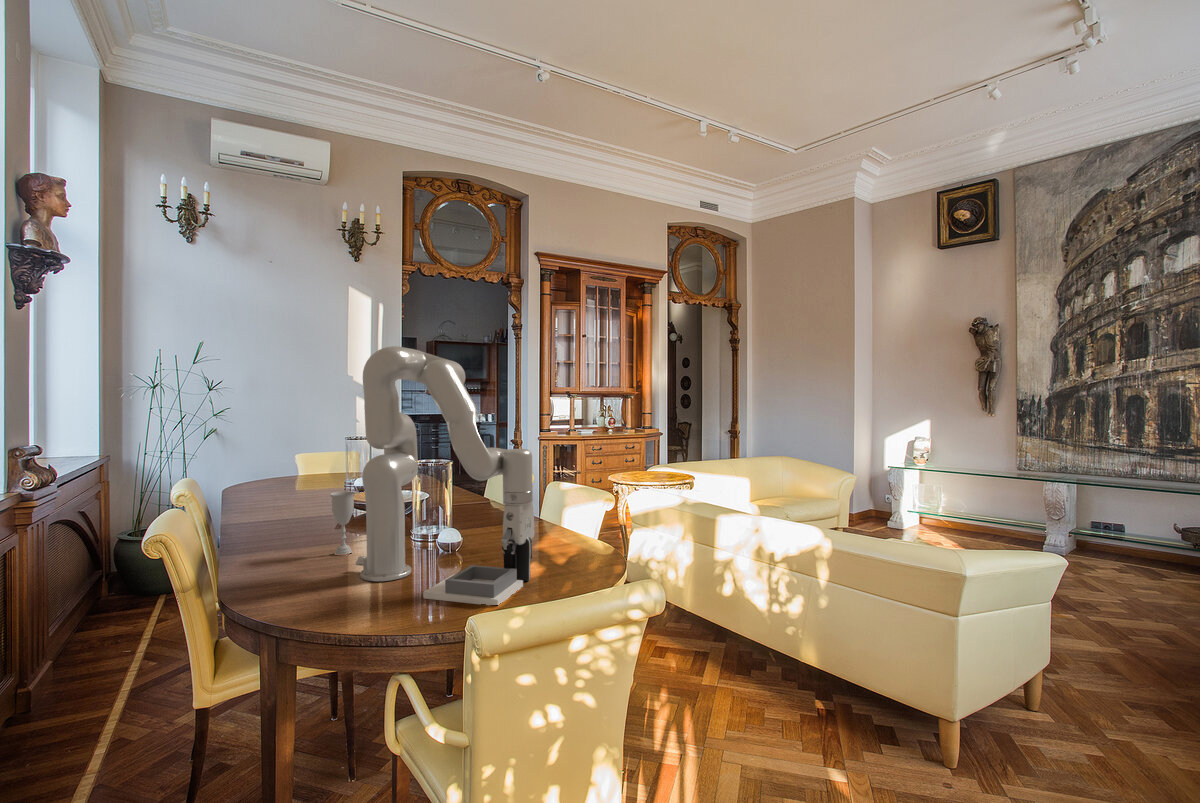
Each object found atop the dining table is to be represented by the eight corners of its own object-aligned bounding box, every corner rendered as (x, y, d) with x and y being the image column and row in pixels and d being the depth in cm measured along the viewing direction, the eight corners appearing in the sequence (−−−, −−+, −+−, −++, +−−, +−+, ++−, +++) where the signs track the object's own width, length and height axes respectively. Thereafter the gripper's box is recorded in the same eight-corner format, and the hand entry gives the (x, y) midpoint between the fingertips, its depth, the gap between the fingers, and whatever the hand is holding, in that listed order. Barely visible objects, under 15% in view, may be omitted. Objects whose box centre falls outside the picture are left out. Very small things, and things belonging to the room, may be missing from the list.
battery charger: (533, 577, 154) (533, 533, 154) (529, 582, 151) (529, 537, 150) (507, 576, 155) (507, 532, 155) (502, 580, 152) (502, 536, 151)
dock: (423, 598, 139) (423, 579, 139) (454, 579, 153) (454, 562, 152) (497, 606, 134) (497, 586, 134) (522, 586, 147) (522, 568, 147)
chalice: (361, 552, 178) (360, 492, 178) (340, 558, 173) (339, 496, 172) (346, 549, 182) (345, 490, 182) (325, 554, 177) (324, 493, 176)
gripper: (517, 504, 143) (517, 575, 144) (544, 492, 160) (544, 556, 160) (488, 502, 145) (489, 572, 146) (518, 491, 162) (518, 554, 162)
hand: (518, 564), depth 153 cm, fingers open, 9 cm apart
